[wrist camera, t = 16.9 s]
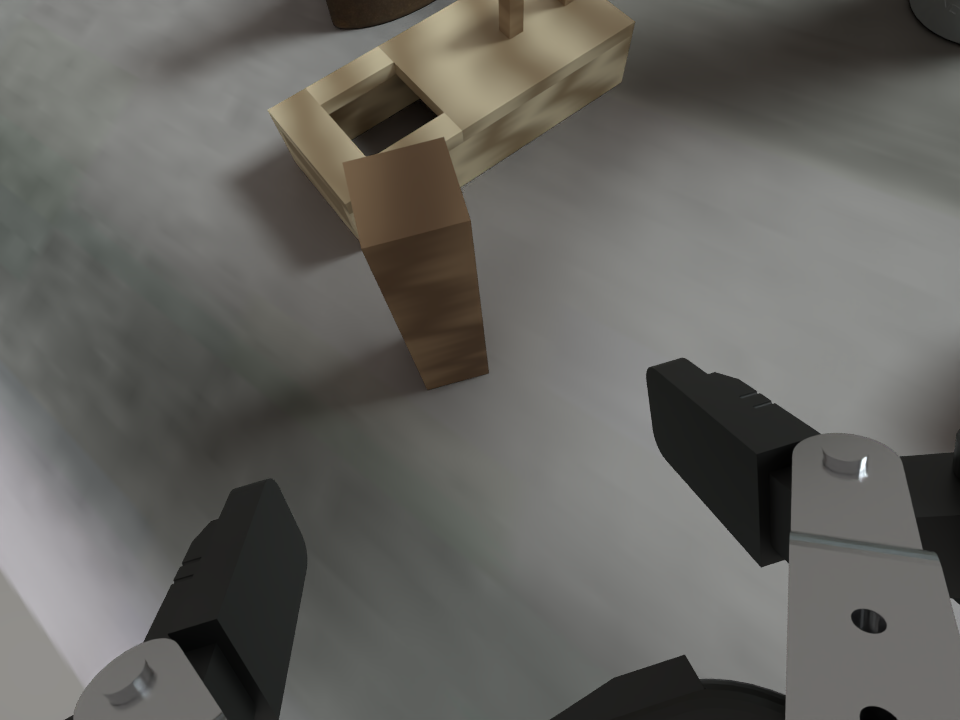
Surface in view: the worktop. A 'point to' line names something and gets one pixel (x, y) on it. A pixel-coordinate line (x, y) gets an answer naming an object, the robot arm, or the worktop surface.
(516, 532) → the worktop surface
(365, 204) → the walnut key
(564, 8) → the pine toolbox
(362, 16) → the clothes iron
